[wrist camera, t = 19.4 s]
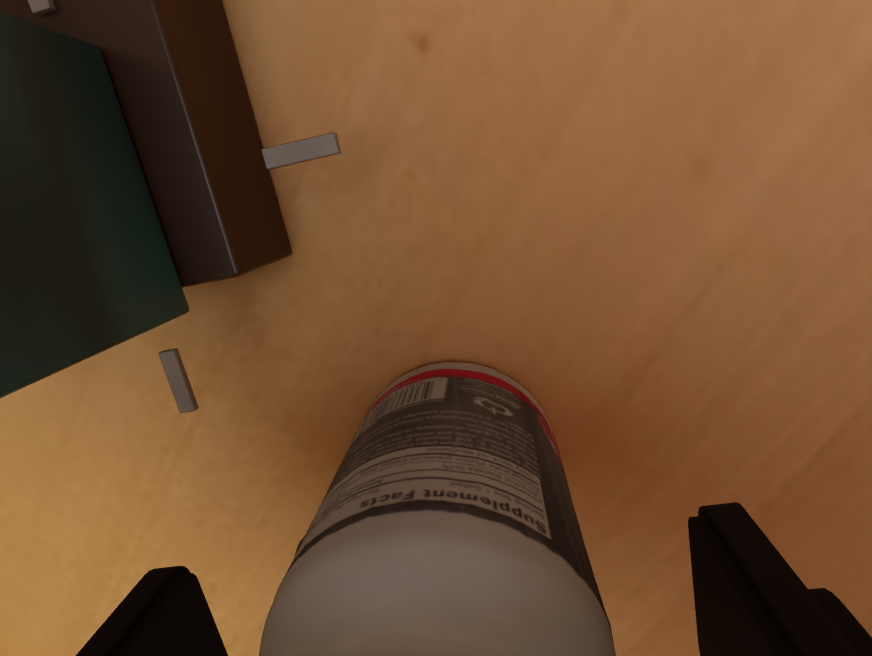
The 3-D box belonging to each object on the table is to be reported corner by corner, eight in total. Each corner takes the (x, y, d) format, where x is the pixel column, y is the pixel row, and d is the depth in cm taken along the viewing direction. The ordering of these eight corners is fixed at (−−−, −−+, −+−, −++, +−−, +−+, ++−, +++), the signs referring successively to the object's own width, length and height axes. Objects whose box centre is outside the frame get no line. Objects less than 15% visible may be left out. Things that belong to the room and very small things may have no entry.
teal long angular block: (23, 65, 9) (-412, -40, 5) (100, 44, 9) (-279, -89, 5) (122, 324, 11) (-148, 435, 6) (192, 311, 10) (-33, 414, 6)
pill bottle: (544, 538, 15) (652, 1164, 5) (361, 520, 15) (164, 1075, 6) (566, 363, 13) (772, 814, 4) (362, 348, 14) (95, 725, 4)
